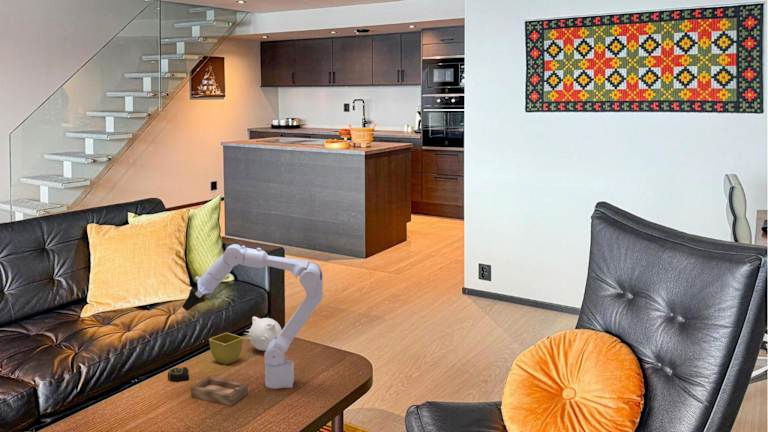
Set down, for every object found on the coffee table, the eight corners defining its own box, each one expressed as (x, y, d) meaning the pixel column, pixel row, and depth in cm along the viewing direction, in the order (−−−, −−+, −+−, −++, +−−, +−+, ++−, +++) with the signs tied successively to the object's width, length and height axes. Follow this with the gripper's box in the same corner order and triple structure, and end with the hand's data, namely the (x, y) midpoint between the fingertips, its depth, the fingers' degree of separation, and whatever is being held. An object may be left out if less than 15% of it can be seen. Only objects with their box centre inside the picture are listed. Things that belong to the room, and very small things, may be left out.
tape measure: (189, 384, 225) (189, 373, 224) (168, 386, 223) (167, 375, 222) (188, 375, 232) (188, 365, 231) (167, 377, 230) (167, 367, 229)
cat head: (293, 349, 255) (292, 318, 253) (267, 360, 245) (266, 328, 243) (266, 339, 264) (265, 310, 262) (240, 349, 254) (239, 318, 252)
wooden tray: (247, 393, 216) (247, 382, 215) (231, 405, 208) (230, 394, 207) (208, 385, 221) (208, 374, 221) (191, 397, 213) (190, 385, 212)
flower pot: (227, 354, 249) (227, 331, 247) (244, 360, 244) (243, 337, 242) (209, 362, 242) (208, 338, 240) (225, 368, 237) (224, 344, 235)
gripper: (210, 260, 222) (183, 289, 224) (200, 273, 208) (172, 304, 209) (226, 274, 223) (200, 303, 225) (218, 288, 209) (189, 318, 211)
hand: (187, 304), depth 217 cm, fingers open, 7 cm apart
